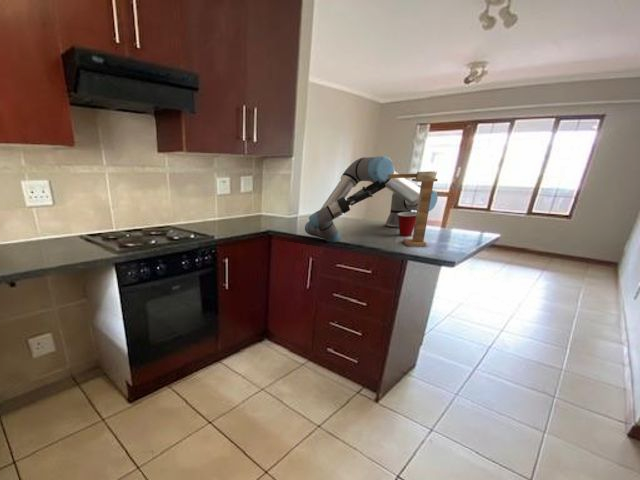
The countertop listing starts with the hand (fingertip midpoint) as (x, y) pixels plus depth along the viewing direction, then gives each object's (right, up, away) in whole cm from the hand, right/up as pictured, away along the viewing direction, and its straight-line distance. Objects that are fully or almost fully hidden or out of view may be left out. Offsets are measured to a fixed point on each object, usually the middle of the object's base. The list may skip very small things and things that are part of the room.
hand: (382, 183), depth 156 cm
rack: (+19, -27, +7) cm, 34 cm away
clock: (+12, +1, -3) cm, 13 cm away
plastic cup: (+24, -19, +27) cm, 41 cm away
